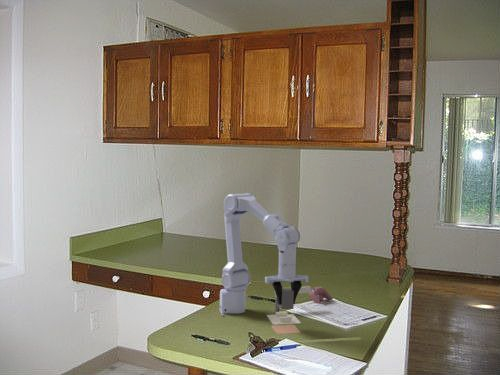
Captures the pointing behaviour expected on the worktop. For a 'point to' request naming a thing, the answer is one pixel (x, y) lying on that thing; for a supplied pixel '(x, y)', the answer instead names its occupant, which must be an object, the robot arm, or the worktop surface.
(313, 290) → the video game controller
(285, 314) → the socket
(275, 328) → the tile
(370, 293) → the worktop surface
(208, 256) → the worktop surface
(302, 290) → the white square rod
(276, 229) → the robot arm
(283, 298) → the plug
